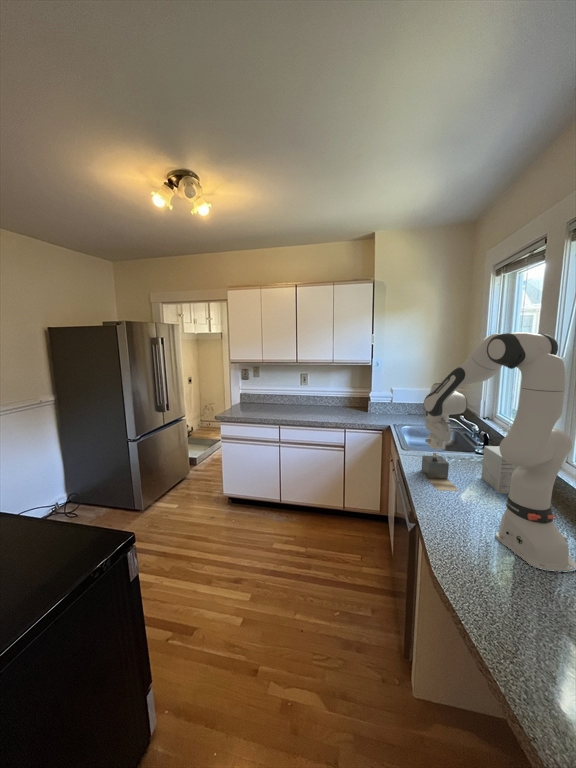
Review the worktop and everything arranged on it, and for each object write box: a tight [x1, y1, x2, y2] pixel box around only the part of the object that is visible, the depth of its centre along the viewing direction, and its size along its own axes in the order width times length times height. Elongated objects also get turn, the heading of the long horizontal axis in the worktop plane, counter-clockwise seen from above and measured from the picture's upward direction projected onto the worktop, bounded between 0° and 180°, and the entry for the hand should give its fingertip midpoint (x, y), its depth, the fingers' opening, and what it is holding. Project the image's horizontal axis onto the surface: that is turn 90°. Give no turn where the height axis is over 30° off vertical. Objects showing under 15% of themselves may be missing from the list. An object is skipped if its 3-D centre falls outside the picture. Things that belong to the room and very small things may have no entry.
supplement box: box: [481, 445, 518, 495], centre depth 142 cm, size 13×13×18 cm
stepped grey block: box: [420, 452, 450, 480], centre depth 152 cm, size 9×9×11 cm
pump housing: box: [424, 434, 447, 450], centre depth 150 cm, size 6×8×5 cm
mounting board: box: [420, 470, 460, 492], centre depth 148 cm, size 21×10×2 cm, turn 177°
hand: (436, 443), depth 151 cm, fingers closed on pump housing, 6 cm apart
